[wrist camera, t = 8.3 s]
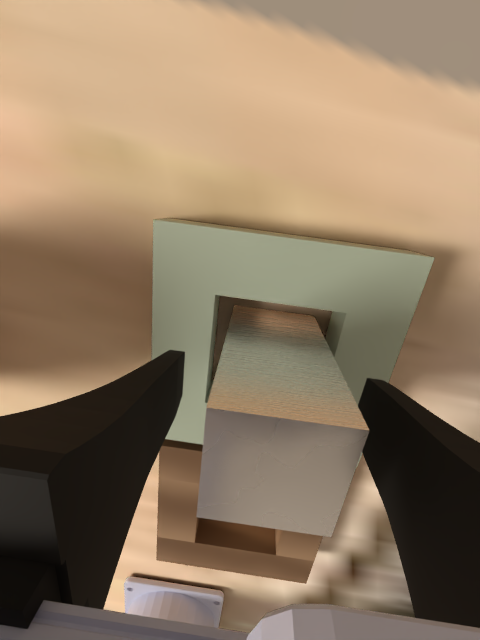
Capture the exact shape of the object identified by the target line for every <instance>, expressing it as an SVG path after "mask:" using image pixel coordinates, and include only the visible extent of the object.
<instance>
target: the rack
mask: <svg viewBox="0 0 480 640" xmlns="http://www.w3.org/2000/svg"><path fill="white" fill-rule="evenodd" d="M433 261H434V257H431V256H427V255H424V254H420V253H417V252H413V251H410V250H402V249H395V248H387V247H380V246H373V245H365V244H358V243H350V242H343V241H336V240H328V239H321V238H313V237H306V236H299V235H291V234H284V233H276V232H269V231H262V230H254V229H247V228H239V227H232V226H225V225H217V224H210V223H202V222H195V221H187V220H180V219H173V218H163V219H154V220H153V287H152V360H153V359H155V358H157V357H158V356H160V355H161V354H163V353H165V352H166V351H168V350H177V351H183V352H185V363H184V379H183V395H182V398H181V401H180V405H179V408H178V411H177V414H176V417H175V419H174V421H173V423H172V425H171V427H170V430H169V432H168V434H167V436H166V438H165V439H168V440H175V441H182V442H189V443H195V444H202V445H203V439H204V428H205V417H206V407H207V403H208V400H209V396H210V392H211V389H212V385H213V380H211V378H212V368H213V358H214V349H215V339H216V329H217V319H218V310H219V300H220V296H227V297H234V298H241V299H249V300H256V301H263V302H270V303H277V304H285V305H292V306H299V307H306V308H313V309H320V310H328V311H332V314H331V318H330V322H329V326H328V329H327V333H326V337H325V340H326V342H327V344H328V346H329V348H330V350H331V352H332V354H333V356H334V358H335V360H336V362H337V365H338V367H339V369H340V371H341V373H342V375H343V377H344V379H345V381H346V383H347V385H348V387H349V389H350V391H351V393H352V395H353V397H354V399H355V402H356V404H357V406H358V403H359V400H360V397H361V394H362V391H363V388H364V385H365V382H366V379H367V378H372V379H379V380H384V381H386V382H387V383H389V380H390V377H391V374H392V372H393V369H394V366H395V364H396V361H397V358H398V356H399V353H400V350H401V347H402V345H403V342H404V339H405V337H406V334H407V331H408V328H409V326H410V323H411V320H412V318H413V315H414V312H415V310H416V307H417V304H418V301H419V299H420V296H421V293H422V291H423V288H424V285H425V283H426V280H427V277H428V274H429V272H430V269H431V266H432V264H433ZM361 455H362V453H361ZM360 458H361V456H360ZM359 461H360V459H359ZM359 461H358V464H359ZM358 464H357V466H358Z"/></svg>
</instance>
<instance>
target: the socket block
mask: <svg viewBox="0 0 480 640" xmlns="http://www.w3.org/2000/svg"><path fill="white" fill-rule="evenodd" d="M202 450H203V445H202V444H195V443H189V442H182V441H175V440H168V439H165V440H164V442H163V444H162V446H161V449H160V453H159V489H158V525H157V560H159V561H165V562H171V563H178V564H184V565H190V566H197V567H203V568H210V569H216V570H222V571H229V572H235V573H242V574H248V575H254V576H261V577H267V578H274V579H280V580H286V581H293V582H299V583H306V582H307V580H308V577H309V574H310V571H311V568H312V565H313V563H314V560H315V557H316V554H317V551H318V548H319V546H320V543H321V540H322V537H323V536H319V535H312V534H306V533H299V532H292V531H286V530H279V529H272V528H266V527H259V526H252V525H246V524H239V523H232V522H226V521H219V520H212V519H206V518H199V517H197V506H198V494H199V483H200V472H201V461H202Z"/></svg>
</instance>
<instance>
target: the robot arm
mask: <svg viewBox="0 0 480 640" xmlns="http://www.w3.org/2000/svg"><path fill="white" fill-rule="evenodd" d="M184 363H185V352H183V351H177V350H168V351H166V352H165V353H163V354H161V355H160V356H158V357H157V358H155V359H153V360H152V361H150V362H148V363H147V364H145V365H143V366H141V367H140V368H138V369H136V370H134V371H132V372H131V373H129V374H127V375H125V376H123V377H121V378H119V379H117V380H115V381H113V382H111V383H109V384H107V385H104V386H102V387H100V388H97V389H95V390H92V391H90V392H87V393H85V394H82V395H79V396H76V397H73V398H70V399H67V400H64V401H60V402H57V403H54V404H51V405H47V406H43V407H40V408H36V409H32V410H28V411H24V412H19V413H15V414H10V415H5V416H0V640H480V443H479V442H477V441H475V440H474V439H472V438H470V437H469V436H467V435H465V434H464V433H462V432H460V431H459V430H457V429H456V428H454V427H453V426H451V425H450V424H448V423H446V422H445V421H443V420H442V419H440V418H439V417H437V416H436V415H434V414H433V413H431V412H430V411H429V410H427V409H426V408H424V407H423V406H421V405H420V404H418V403H417V402H416V401H414V400H413V399H411V398H410V397H408V396H407V395H406V394H404V393H403V392H401V391H400V390H398V389H397V388H395V387H394V386H392V385H391V384H389V383H387V382H386V381H384V380H379V379H372V378H367V379H366V382H365V385H364V388H363V391H362V394H361V397H360V400H359V403H358V408H359V410H360V412H361V414H362V416H363V418H364V420H365V422H366V424H367V426H368V428H369V430H370V431H369V434H368V436H367V439H366V442H365V445H364V447H363V450H362V453H363V455H364V457H365V460H366V462H367V465H368V467H369V470H370V472H371V475H372V477H373V479H374V482H375V484H376V487H377V489H378V491H379V494H380V496H381V499H382V501H383V504H384V507H385V509H386V512H387V515H388V518H389V521H390V524H391V528H392V531H393V534H394V538H395V541H396V544H397V548H398V551H399V555H400V559H401V562H402V566H403V570H404V573H405V577H406V581H407V585H408V589H409V593H410V597H411V601H412V605H413V609H414V613H415V617H416V618H412V617H406V616H400V615H393V614H387V613H381V612H374V611H368V610H362V609H355V608H349V607H342V606H336V605H330V604H292V605H289V606H286V607H283V608H280V609H277V610H274V611H271V612H268V613H266V615H265V616H264V617H263V618H262V619H261V620H260V622H259V623H258V624H257V625H256V626H255V628H254V629H253V630H252V631H251V633H246V632H240V631H234V630H228V629H221V628H219V622H220V617H221V611H222V606H223V600H224V593H223V592H222V591H220V590H215V589H208V588H202V587H196V586H189V585H183V584H177V583H170V582H164V581H158V580H151V579H145V578H139V577H132V576H130V577H127V578H126V580H125V583H124V594H125V613H121V612H115V611H109V610H103V608H104V605H105V601H106V598H107V595H108V592H109V589H110V585H111V582H112V579H113V576H114V573H115V570H116V567H117V564H118V561H119V558H120V555H121V552H122V549H123V546H124V542H125V539H126V536H127V534H128V531H129V528H130V525H131V522H132V519H133V516H134V513H135V510H136V507H137V505H138V502H139V499H140V496H141V493H142V491H143V488H144V485H145V482H146V480H147V477H148V475H149V472H150V470H151V468H152V465H153V463H154V461H155V459H156V457H157V455H158V453H159V451H160V449H161V446H162V444H163V442H164V440H165V438H166V436H167V434H168V432H169V430H170V427H171V425H172V423H173V421H174V419H175V417H176V414H177V411H178V408H179V405H180V401H181V398H182V395H183V379H184Z"/></svg>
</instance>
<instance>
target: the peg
mask: <svg viewBox="0 0 480 640" xmlns="http://www.w3.org/2000/svg"><path fill="white" fill-rule="evenodd" d="M369 431H370V430H369V428H368V426H367V424H366V422H365V420H364V418H363V416H362V414H361V412H360V410H359V408H358V406H357V404H356V402H355V399H354V397H353V395H352V393H351V391H350V389H349V387H348V385H347V383H346V381H345V379H344V377H343V375H342V373H341V371H340V369H339V367H338V365H337V362H336V360H335V358H334V356H333V354H332V352H331V350H330V348H329V346H328V344H327V342H326V340H325V338H324V336H323V334H322V332H321V330H320V328H319V325H318V323H317V321H316V319H315V317H314V316H312V315H305V314H297V313H290V312H282V311H274V310H267V309H259V308H252V307H244V306H237V305H234V309H233V313H232V316H231V320H230V323H229V327H228V331H227V334H226V338H225V342H224V345H223V349H222V352H221V356H220V360H219V363H218V367H217V371H216V374H215V378H214V381H213V385H212V389H211V392H210V396H209V400H208V403H207V407H206V417H205V428H204V439H203V450H202V461H201V472H200V483H199V494H198V506H197V517H199V518H206V519H212V520H219V521H226V522H232V523H239V524H246V525H252V526H259V527H266V528H272V529H279V530H286V531H292V532H299V533H306V534H312V535H319V536H326V537H332V534H333V531H334V528H335V525H336V523H337V520H338V517H339V514H340V512H341V509H342V506H343V503H344V500H345V498H346V495H347V492H348V489H349V486H350V484H351V481H352V478H353V475H354V473H355V470H356V467H357V464H358V461H359V459H360V456H361V453H362V450H363V447H364V445H365V442H366V439H367V436H368V434H369Z"/></svg>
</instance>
